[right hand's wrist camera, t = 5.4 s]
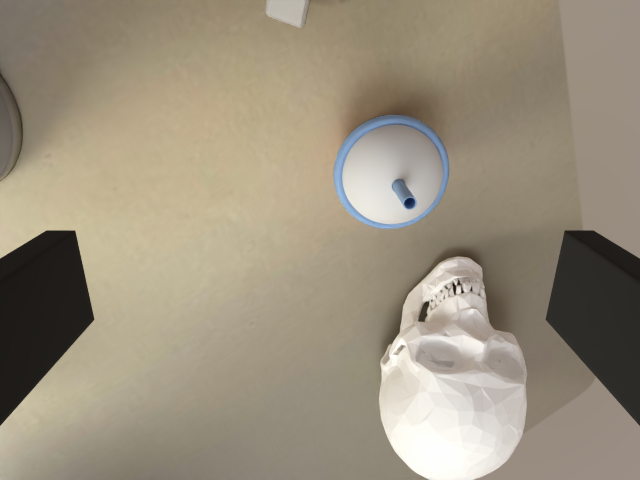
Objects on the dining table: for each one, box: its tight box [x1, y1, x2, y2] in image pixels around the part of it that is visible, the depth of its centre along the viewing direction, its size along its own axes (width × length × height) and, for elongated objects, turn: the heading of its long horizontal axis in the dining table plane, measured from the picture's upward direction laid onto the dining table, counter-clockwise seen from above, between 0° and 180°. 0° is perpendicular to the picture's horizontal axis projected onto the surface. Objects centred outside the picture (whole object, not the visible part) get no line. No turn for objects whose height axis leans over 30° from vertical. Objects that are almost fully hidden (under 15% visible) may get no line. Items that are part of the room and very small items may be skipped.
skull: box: [379, 256, 527, 480], centre depth 45 cm, size 13×22×16 cm, turn 176°
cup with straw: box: [334, 115, 449, 229], centre depth 36 cm, size 9×9×18 cm
